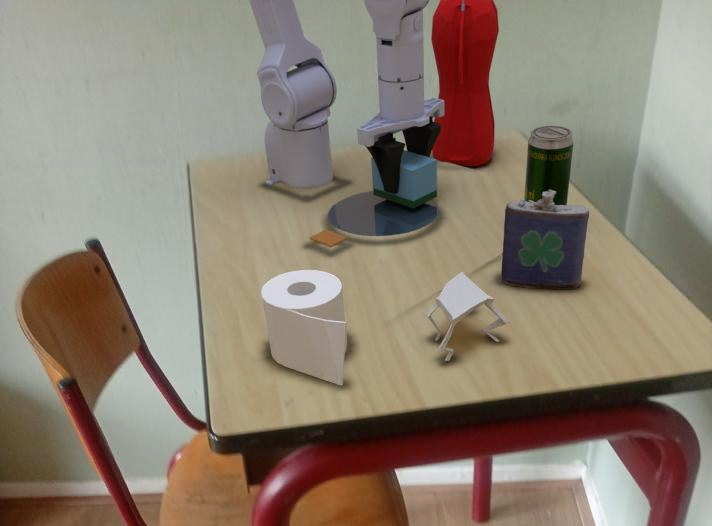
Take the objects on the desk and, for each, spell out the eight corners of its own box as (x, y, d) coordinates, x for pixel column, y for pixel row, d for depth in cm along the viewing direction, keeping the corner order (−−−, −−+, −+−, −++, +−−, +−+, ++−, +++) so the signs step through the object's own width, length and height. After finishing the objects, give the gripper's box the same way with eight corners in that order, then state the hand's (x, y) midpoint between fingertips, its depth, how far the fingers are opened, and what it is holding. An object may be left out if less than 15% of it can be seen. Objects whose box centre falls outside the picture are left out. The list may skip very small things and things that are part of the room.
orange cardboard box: (310, 246, 104) (309, 237, 103) (326, 238, 105) (325, 229, 105) (331, 254, 102) (330, 245, 101) (348, 246, 103) (347, 237, 103)
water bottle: (427, 173, 120) (425, -25, 103) (436, 147, 128) (435, -41, 111) (490, 174, 119) (497, -27, 102) (495, 147, 126) (503, -43, 109)
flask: (581, 280, 94) (592, 188, 86) (578, 292, 92) (590, 199, 84) (502, 274, 96) (507, 183, 89) (498, 285, 94) (502, 194, 87)
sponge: (373, 195, 111) (371, 157, 107) (396, 184, 113) (395, 147, 110) (413, 208, 107) (412, 170, 103) (437, 197, 109) (437, 159, 106)
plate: (305, 223, 109) (304, 216, 108) (381, 188, 117) (381, 181, 116) (386, 253, 101) (385, 246, 101) (461, 214, 109) (461, 206, 108)
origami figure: (515, 357, 83) (518, 314, 79) (435, 366, 82) (434, 323, 79) (490, 301, 91) (492, 260, 88) (417, 309, 91) (416, 268, 87)
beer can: (572, 229, 104) (584, 131, 95) (544, 242, 101) (553, 143, 93) (541, 217, 107) (550, 121, 99) (513, 229, 104) (519, 132, 96)
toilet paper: (341, 385, 80) (335, 324, 76) (255, 356, 85) (244, 296, 80) (386, 347, 85) (382, 287, 80) (302, 321, 90) (294, 263, 85)
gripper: (384, 96, 94) (389, 210, 103) (462, 66, 101) (461, 175, 111) (342, 86, 98) (350, 197, 107) (421, 58, 105) (422, 164, 114)
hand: (404, 185), depth 109 cm, fingers closed on sponge, 5 cm apart
